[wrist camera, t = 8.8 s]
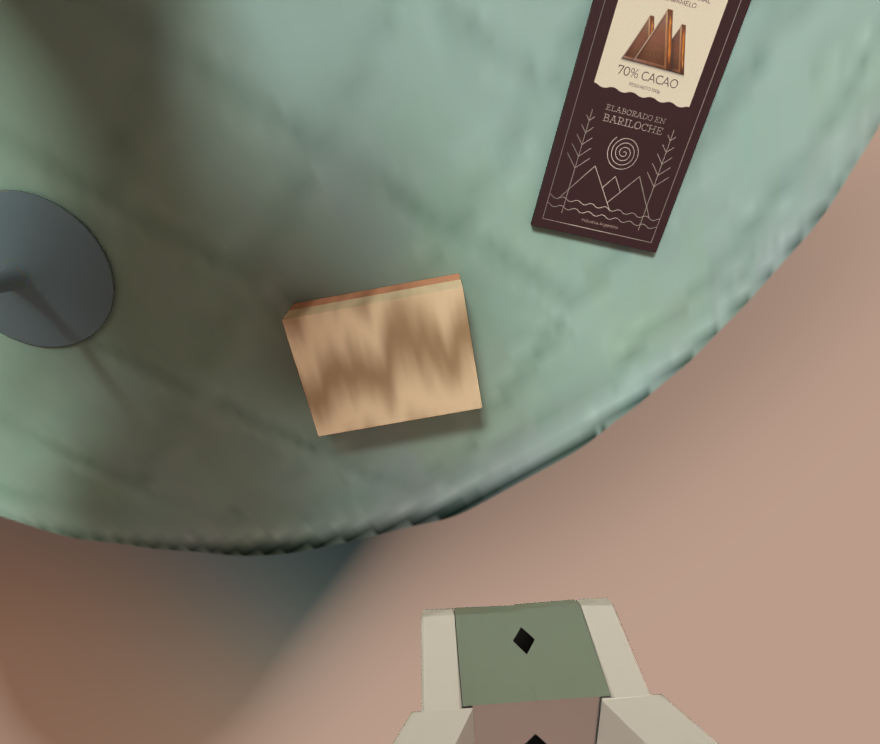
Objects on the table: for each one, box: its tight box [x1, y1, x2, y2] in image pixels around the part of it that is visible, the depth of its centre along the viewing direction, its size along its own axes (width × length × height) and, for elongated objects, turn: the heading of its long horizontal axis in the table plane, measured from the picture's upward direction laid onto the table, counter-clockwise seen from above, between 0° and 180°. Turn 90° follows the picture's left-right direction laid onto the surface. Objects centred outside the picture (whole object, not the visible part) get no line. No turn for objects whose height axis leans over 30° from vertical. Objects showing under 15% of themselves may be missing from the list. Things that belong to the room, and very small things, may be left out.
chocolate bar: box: [531, 0, 751, 252], centre depth 34 cm, size 9×1×18 cm
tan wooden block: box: [282, 273, 482, 436], centre depth 38 cm, size 9×4×12 cm
